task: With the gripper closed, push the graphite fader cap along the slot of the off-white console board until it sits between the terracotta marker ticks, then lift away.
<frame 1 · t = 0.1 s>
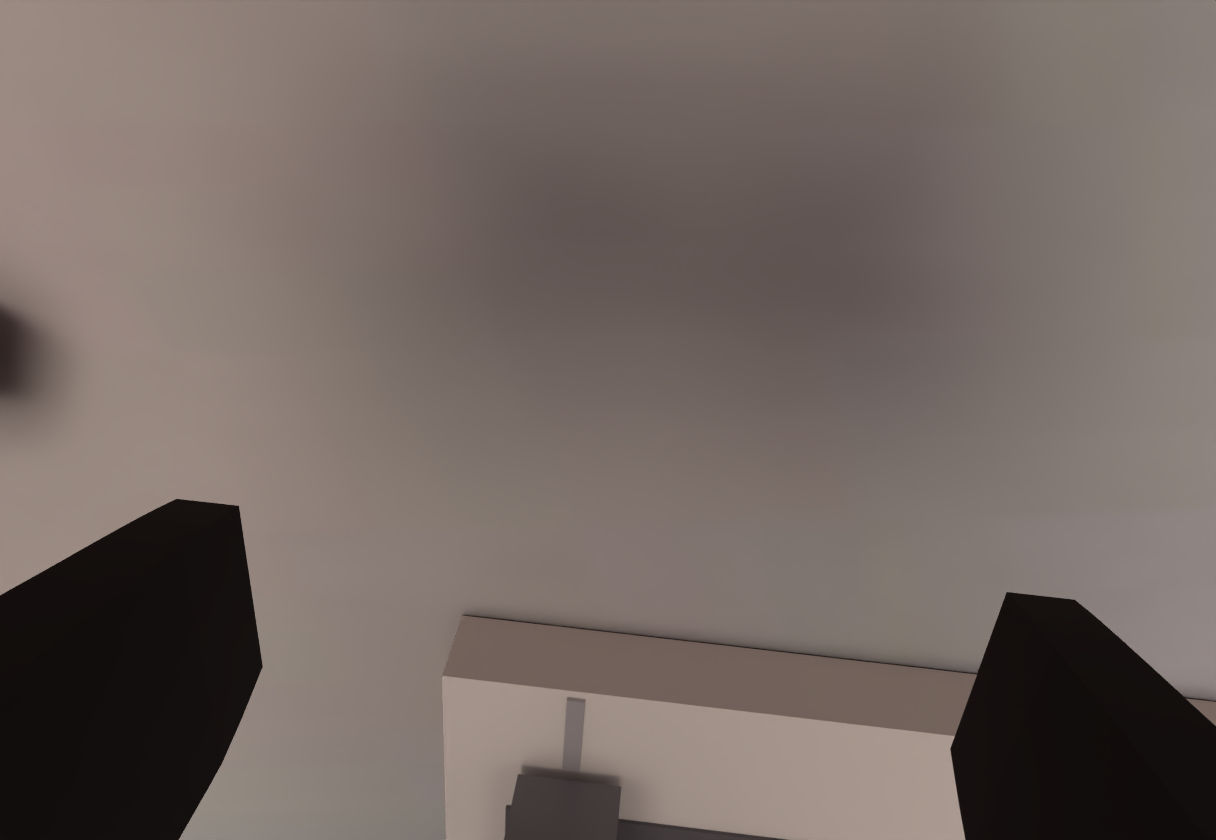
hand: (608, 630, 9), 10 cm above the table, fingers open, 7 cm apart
console: (806, 787, 24), on the table
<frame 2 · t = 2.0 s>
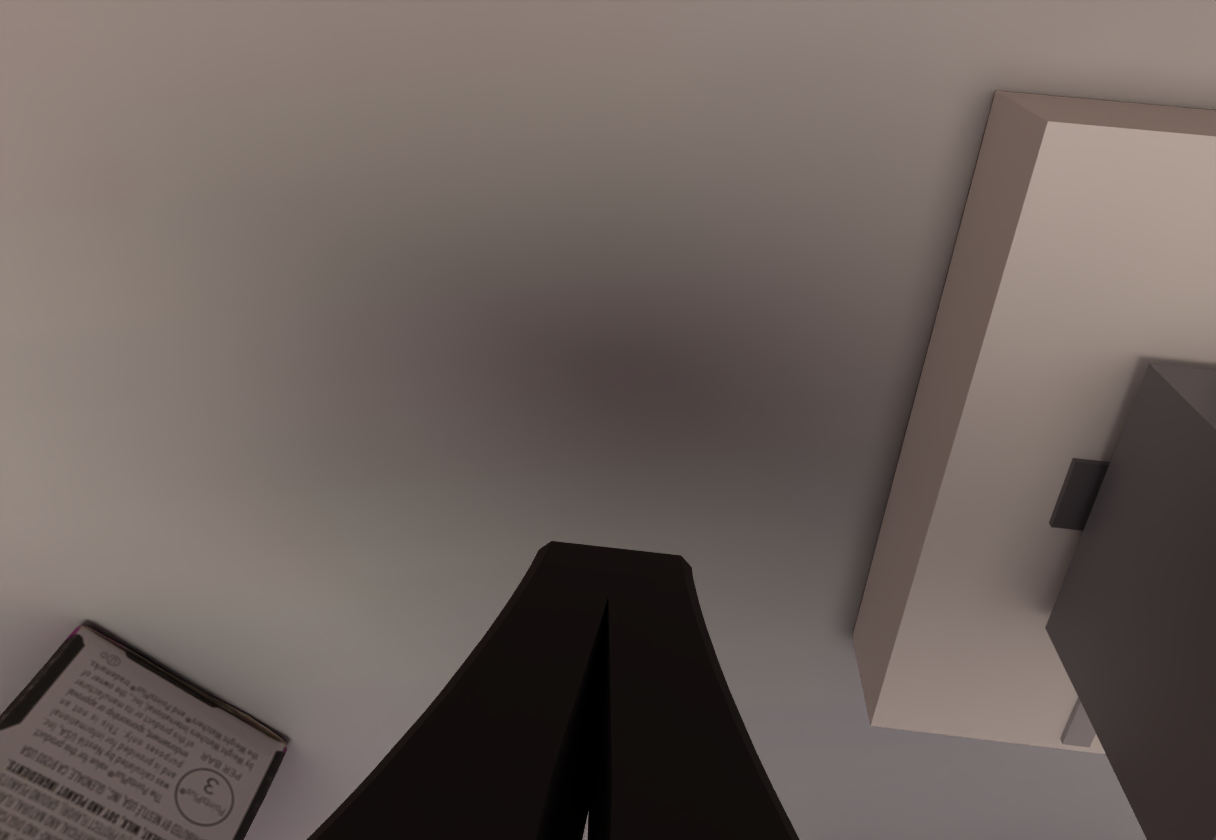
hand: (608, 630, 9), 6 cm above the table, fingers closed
candy bar box: (100, 807, 20), on the table
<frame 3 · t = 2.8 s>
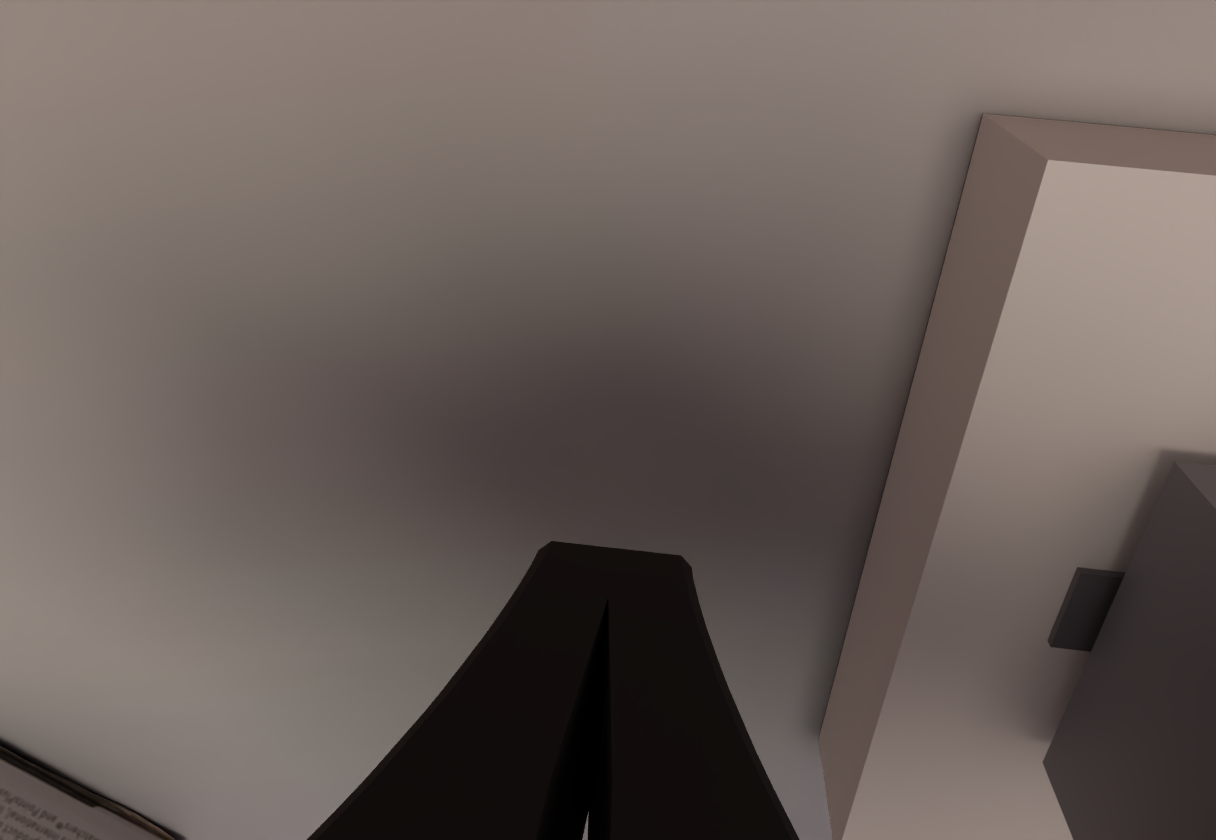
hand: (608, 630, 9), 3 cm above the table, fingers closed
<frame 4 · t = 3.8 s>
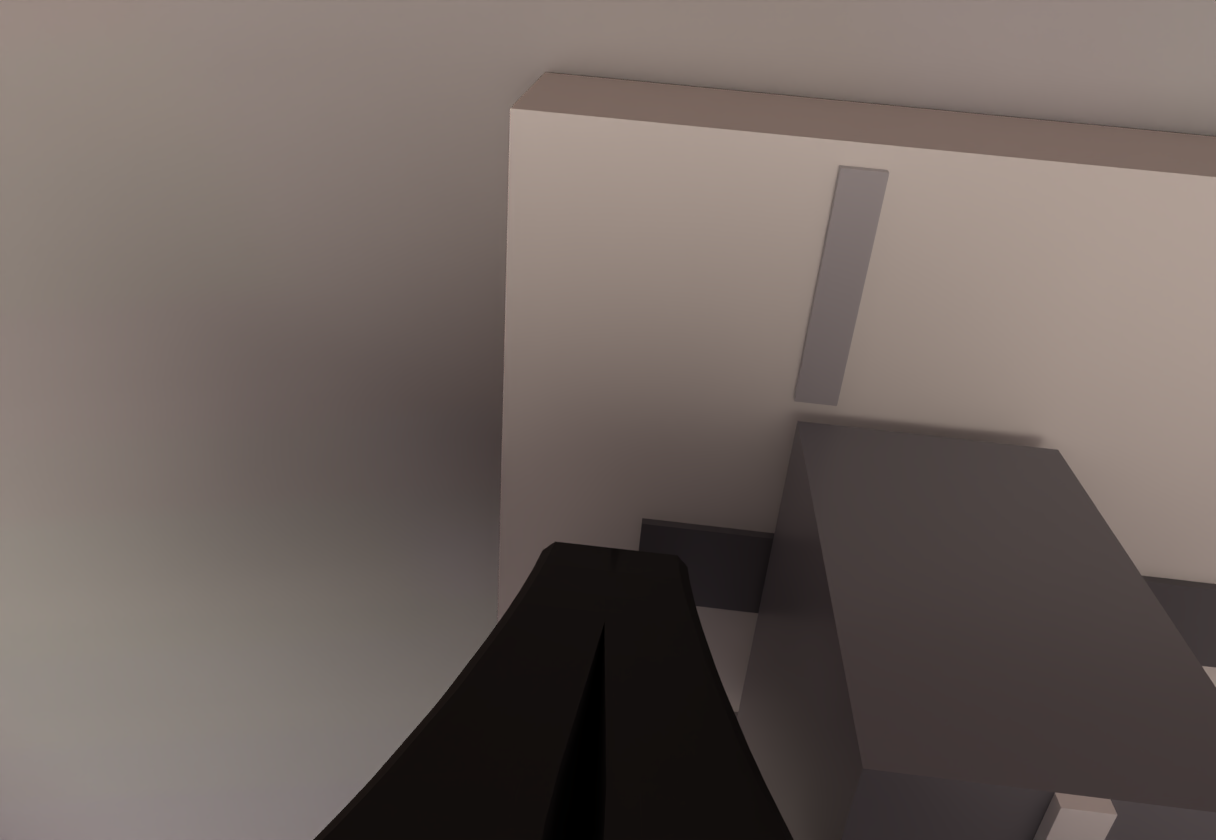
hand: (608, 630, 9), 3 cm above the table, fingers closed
fader: (920, 761, 8), point 4 cm above the table, slide at 1.0 cm, touching gripper
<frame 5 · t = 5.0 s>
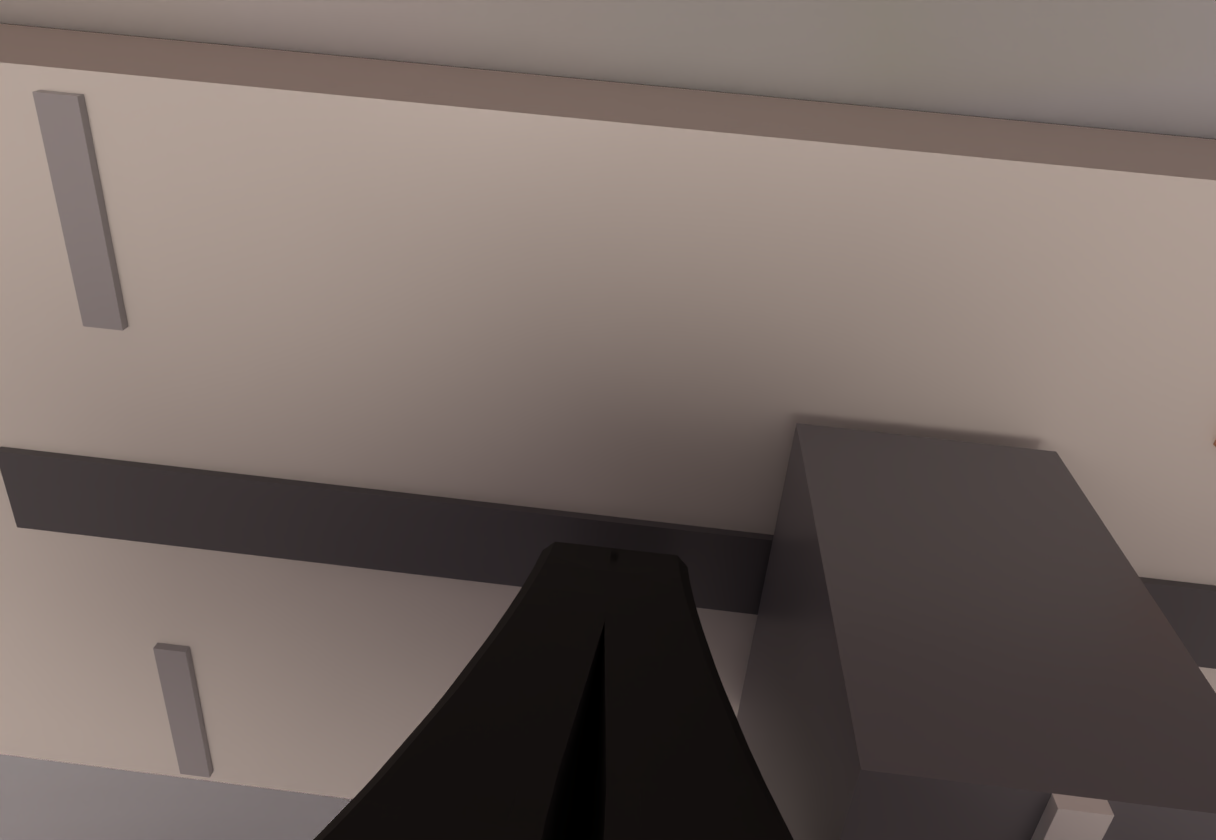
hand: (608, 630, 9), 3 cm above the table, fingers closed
console: (690, 466, 12), on the table
fader: (919, 762, 8), point 4 cm above the table, slide at 8.0 cm, touching gripper
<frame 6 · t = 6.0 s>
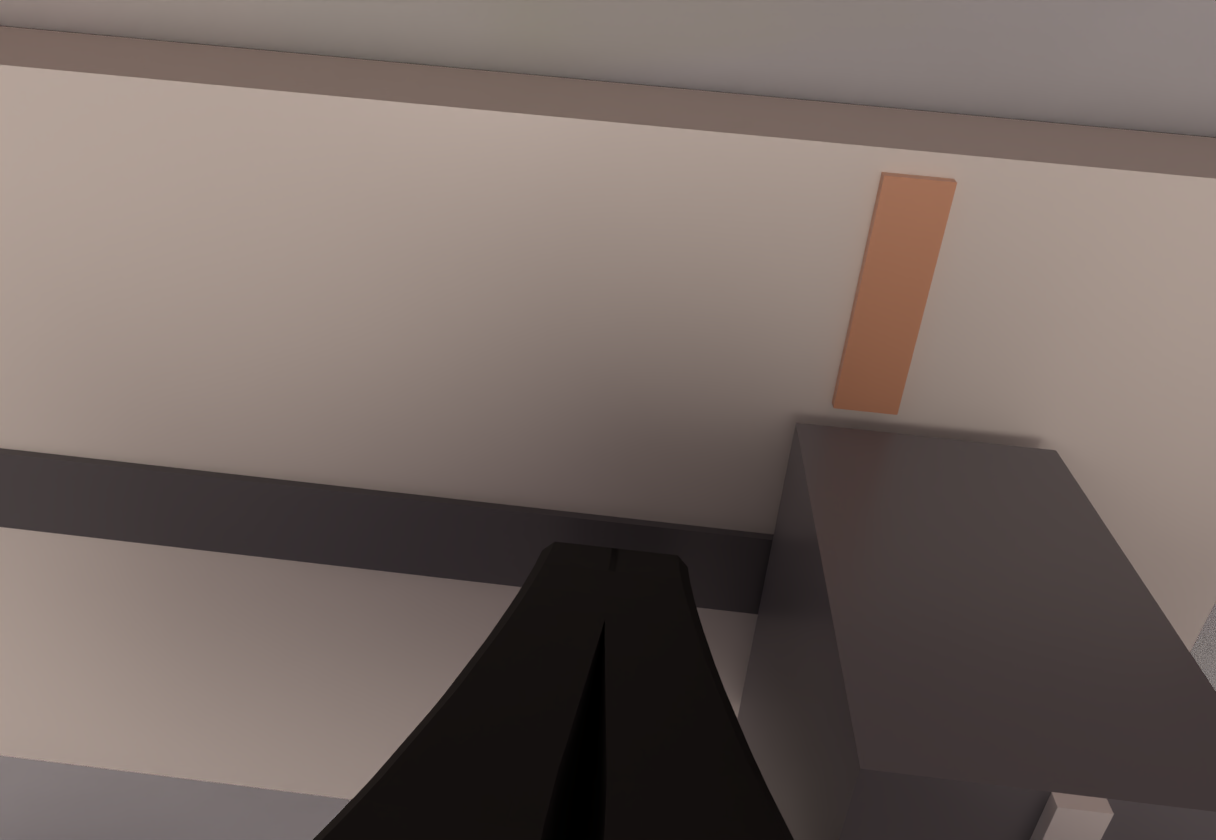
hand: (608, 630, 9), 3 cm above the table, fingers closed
console: (411, 435, 12), on the table
fader: (919, 762, 8), point 4 cm above the table, slide at 11.5 cm, touching gripper
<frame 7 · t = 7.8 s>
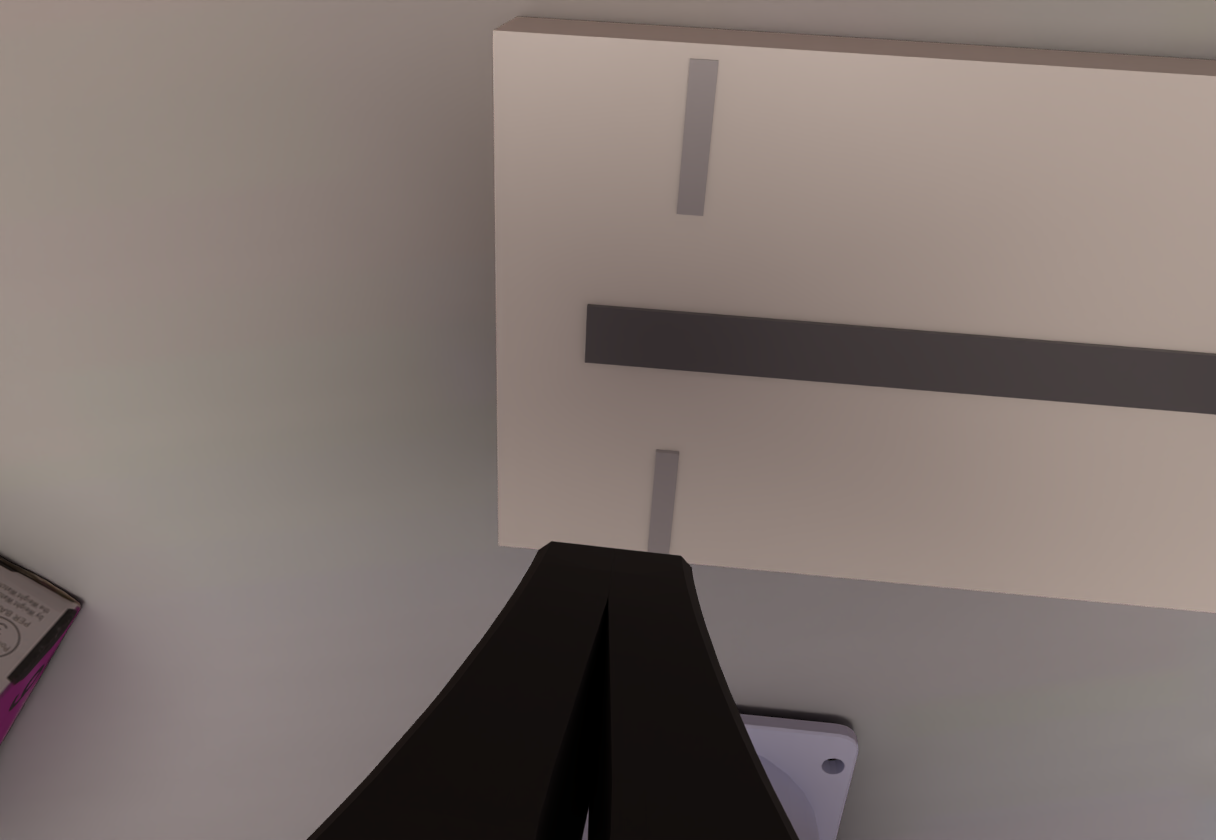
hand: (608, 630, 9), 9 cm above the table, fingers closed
console: (1016, 321, 16), on the table
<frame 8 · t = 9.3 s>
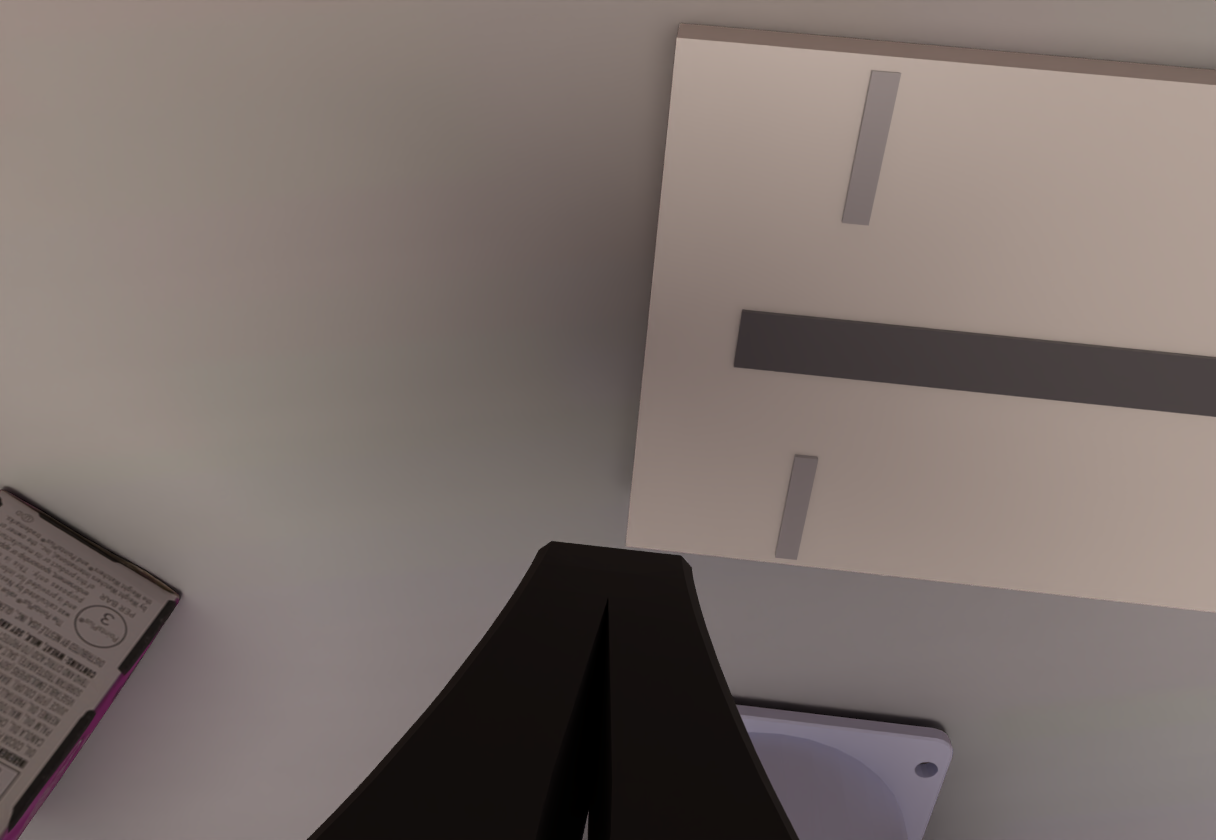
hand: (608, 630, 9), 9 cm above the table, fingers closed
console: (1148, 335, 17), on the table
candy bar box: (28, 663, 24), on the table
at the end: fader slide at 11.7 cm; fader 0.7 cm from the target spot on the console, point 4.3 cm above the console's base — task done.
